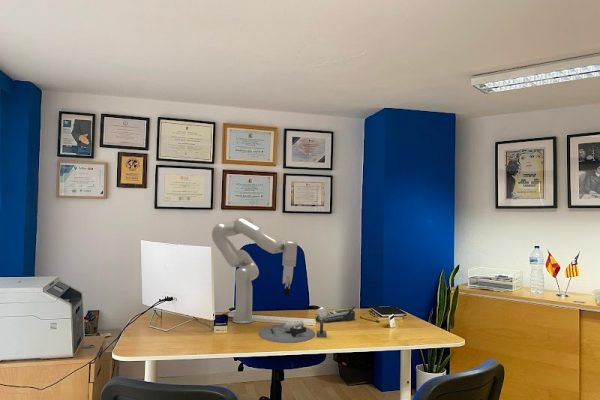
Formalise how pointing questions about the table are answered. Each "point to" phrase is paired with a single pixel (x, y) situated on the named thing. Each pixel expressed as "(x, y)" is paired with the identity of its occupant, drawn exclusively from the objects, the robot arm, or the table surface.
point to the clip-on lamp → (293, 328)
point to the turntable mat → (284, 335)
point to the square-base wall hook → (321, 322)
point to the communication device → (339, 315)
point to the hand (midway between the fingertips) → (286, 295)
